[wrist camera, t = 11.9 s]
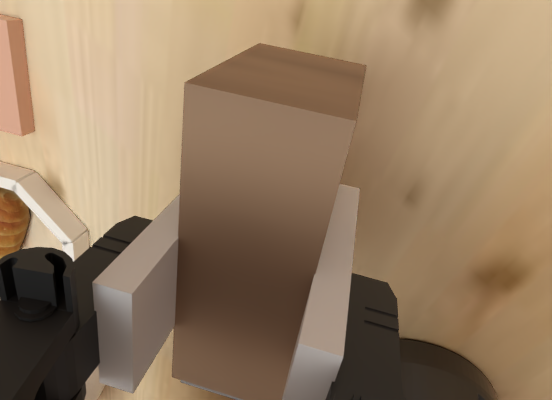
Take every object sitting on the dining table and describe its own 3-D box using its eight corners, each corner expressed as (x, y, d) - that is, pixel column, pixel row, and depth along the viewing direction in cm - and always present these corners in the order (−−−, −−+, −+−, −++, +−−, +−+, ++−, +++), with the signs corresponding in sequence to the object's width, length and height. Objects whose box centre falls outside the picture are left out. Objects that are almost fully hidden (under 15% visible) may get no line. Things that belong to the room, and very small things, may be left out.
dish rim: (94, 319, 40) (81, 334, 38) (-40, 278, 41) (-59, 290, 40) (84, 184, 33) (68, 195, 31) (-78, 140, 34) (-102, 148, 33)
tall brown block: (310, 412, 18) (288, 545, 14) (184, 372, 19) (127, 487, 15) (422, 77, 11) (449, 142, 6) (208, 32, 11) (104, 64, 7)
